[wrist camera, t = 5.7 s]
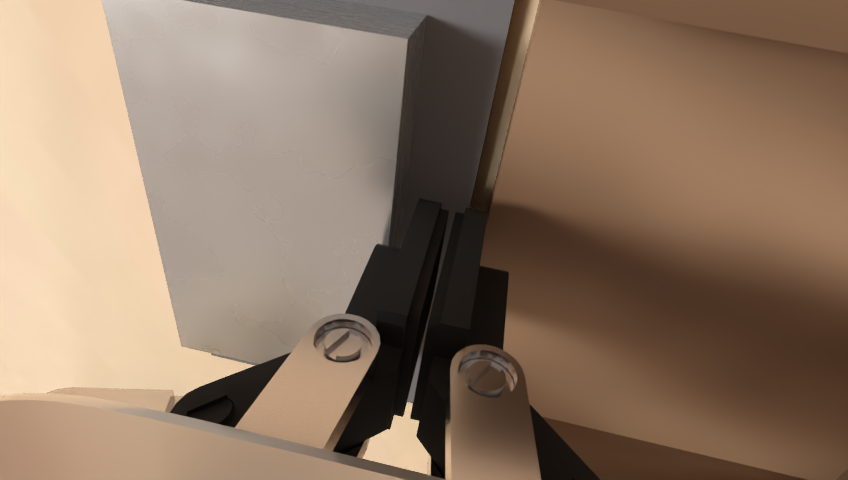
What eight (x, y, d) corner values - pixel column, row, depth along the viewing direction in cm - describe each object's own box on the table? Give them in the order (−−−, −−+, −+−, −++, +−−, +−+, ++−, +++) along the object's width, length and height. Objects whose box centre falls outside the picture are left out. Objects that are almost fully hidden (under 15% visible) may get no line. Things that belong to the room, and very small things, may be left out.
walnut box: (564, -100, 10) (575, -87, 7) (1330, 28, 9) (1782, 117, 6) (445, 388, 18) (424, 499, 15) (829, 479, 17) (895, 618, 14)
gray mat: (127, -225, 10) (117, -229, 10) (549, -159, 9) (549, -159, 9) (215, 348, 19) (211, 354, 19) (427, 399, 19) (426, 406, 19)
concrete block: (159, -31, 12) (98, -14, 10) (427, 14, 11) (407, 38, 9) (214, 302, 17) (181, 346, 16) (390, 341, 17) (374, 390, 15)
